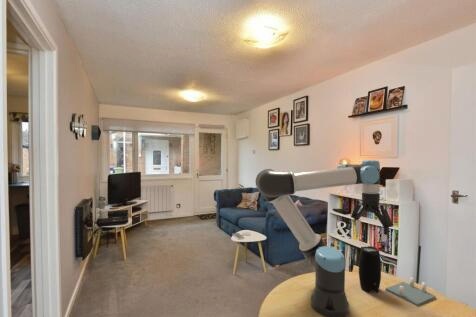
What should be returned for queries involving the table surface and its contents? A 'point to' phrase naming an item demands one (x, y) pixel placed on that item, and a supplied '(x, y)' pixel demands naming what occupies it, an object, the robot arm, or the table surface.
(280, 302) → the table surface
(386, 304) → the table surface
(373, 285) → the portable speaker
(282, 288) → the table surface
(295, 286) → the table surface
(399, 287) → the pin pad
